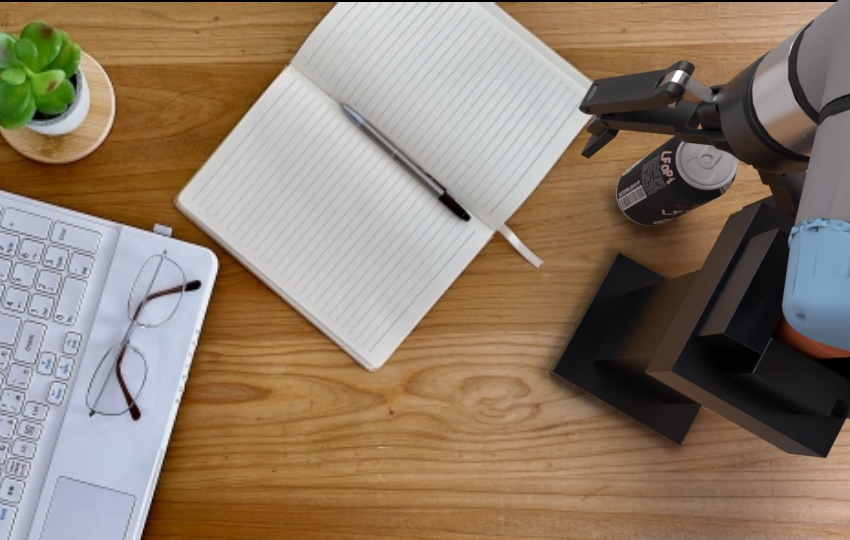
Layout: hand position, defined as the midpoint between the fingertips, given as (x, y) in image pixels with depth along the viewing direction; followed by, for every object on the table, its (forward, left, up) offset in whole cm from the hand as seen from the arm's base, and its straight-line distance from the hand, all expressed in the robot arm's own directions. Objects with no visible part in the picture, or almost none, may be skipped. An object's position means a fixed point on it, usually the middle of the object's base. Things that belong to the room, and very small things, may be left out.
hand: (664, 182), depth 72 cm
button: (-12, -6, +20) cm, 24 cm away
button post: (-12, -6, -4) cm, 14 cm away
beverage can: (0, 0, -4) cm, 4 cm away
